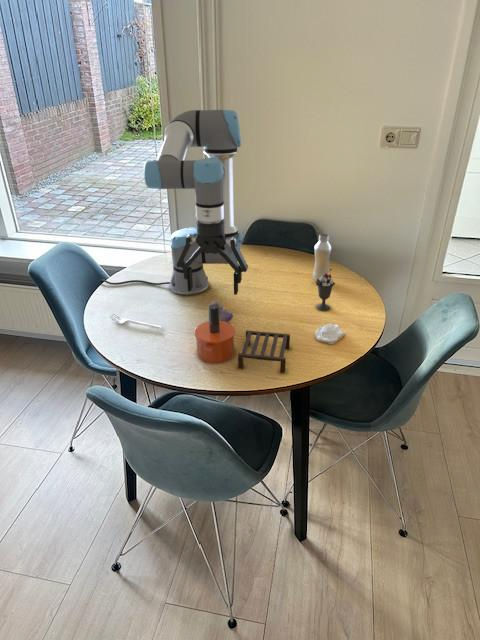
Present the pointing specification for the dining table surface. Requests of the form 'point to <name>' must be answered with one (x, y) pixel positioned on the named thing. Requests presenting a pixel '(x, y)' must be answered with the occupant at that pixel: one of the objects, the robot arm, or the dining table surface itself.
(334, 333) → the rose
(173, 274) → the robot arm
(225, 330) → the lid
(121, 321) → the cooking utensil
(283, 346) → the rack
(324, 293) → the sundae
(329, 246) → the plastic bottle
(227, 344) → the pot
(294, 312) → the dining table surface
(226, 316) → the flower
